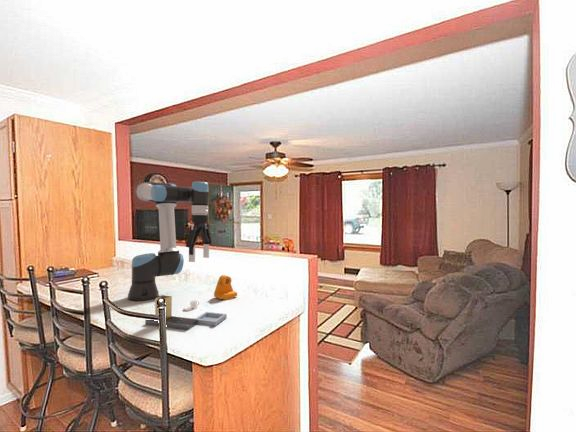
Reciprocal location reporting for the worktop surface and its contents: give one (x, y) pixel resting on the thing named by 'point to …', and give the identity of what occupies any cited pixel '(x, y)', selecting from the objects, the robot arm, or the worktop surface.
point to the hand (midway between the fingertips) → (199, 259)
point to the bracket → (224, 288)
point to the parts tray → (211, 318)
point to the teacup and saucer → (192, 306)
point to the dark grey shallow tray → (176, 323)
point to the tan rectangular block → (168, 306)
